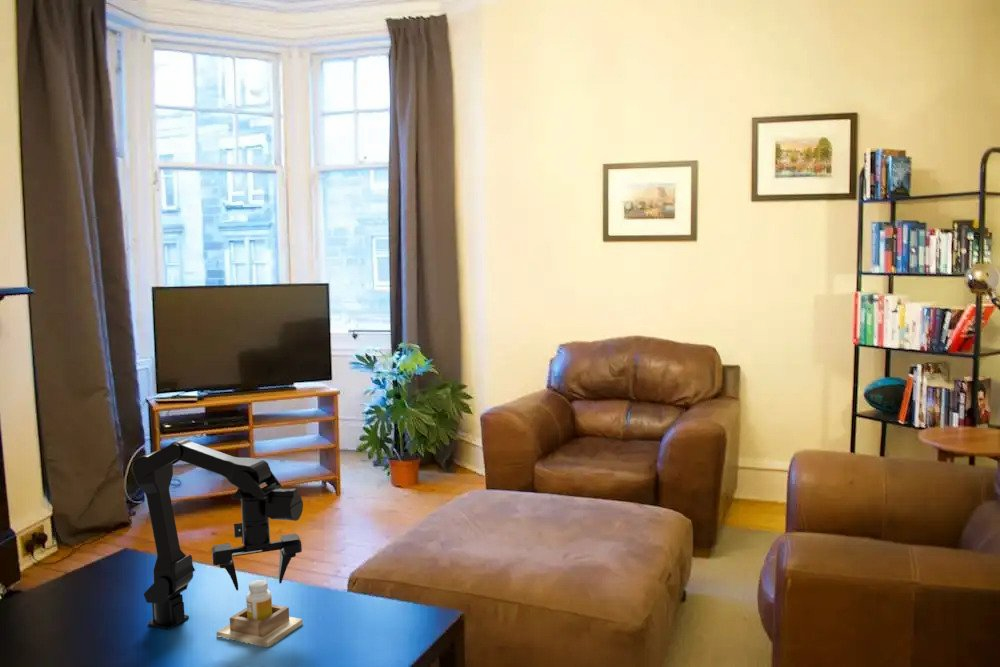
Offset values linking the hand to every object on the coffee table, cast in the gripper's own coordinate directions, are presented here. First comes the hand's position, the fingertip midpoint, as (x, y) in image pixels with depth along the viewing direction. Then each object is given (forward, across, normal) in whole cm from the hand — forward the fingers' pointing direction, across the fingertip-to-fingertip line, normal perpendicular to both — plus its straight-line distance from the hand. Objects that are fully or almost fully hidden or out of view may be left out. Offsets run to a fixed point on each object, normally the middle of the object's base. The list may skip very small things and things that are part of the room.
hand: (258, 586), depth 179 cm
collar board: (+10, 0, 0) cm, 10 cm away
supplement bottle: (+9, 0, 0) cm, 9 cm away
